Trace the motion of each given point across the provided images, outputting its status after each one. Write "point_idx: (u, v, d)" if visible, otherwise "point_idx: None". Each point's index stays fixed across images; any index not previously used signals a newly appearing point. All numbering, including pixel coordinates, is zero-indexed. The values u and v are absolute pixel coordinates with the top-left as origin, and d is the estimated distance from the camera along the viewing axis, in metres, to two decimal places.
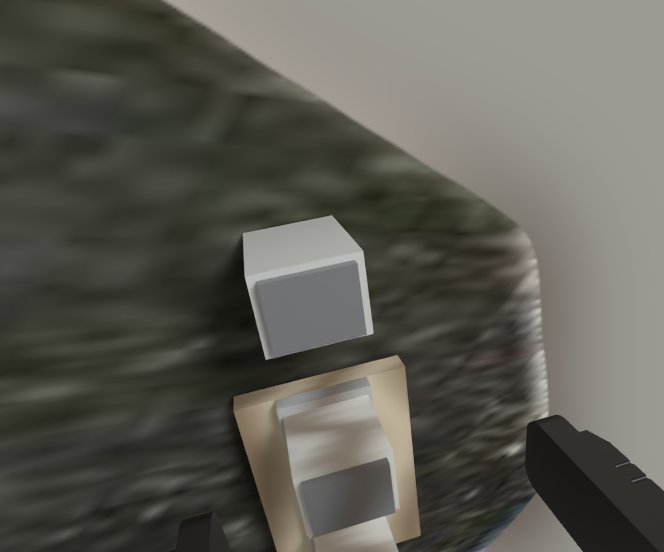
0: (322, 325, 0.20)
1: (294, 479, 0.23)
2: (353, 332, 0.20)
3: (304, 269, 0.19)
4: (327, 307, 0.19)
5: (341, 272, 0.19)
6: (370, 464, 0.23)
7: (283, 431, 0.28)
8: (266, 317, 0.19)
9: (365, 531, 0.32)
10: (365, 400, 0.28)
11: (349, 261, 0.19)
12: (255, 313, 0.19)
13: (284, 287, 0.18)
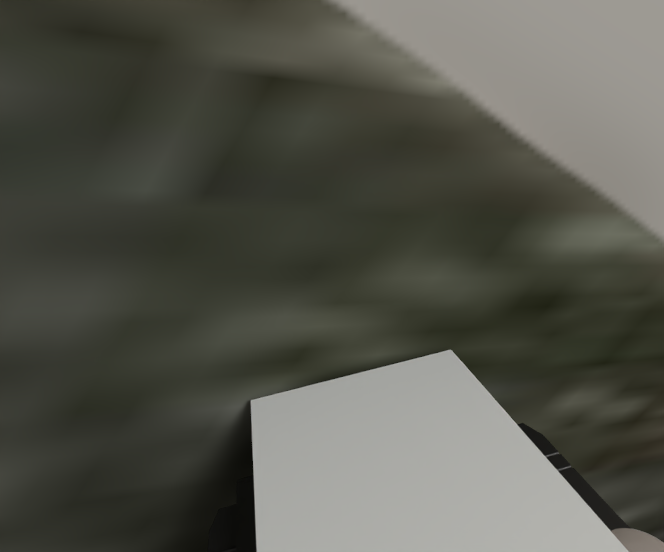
0: None
1: None
2: None
3: None
4: None
5: None
6: None
7: None
8: None
9: None
10: None
11: None
12: None
13: None
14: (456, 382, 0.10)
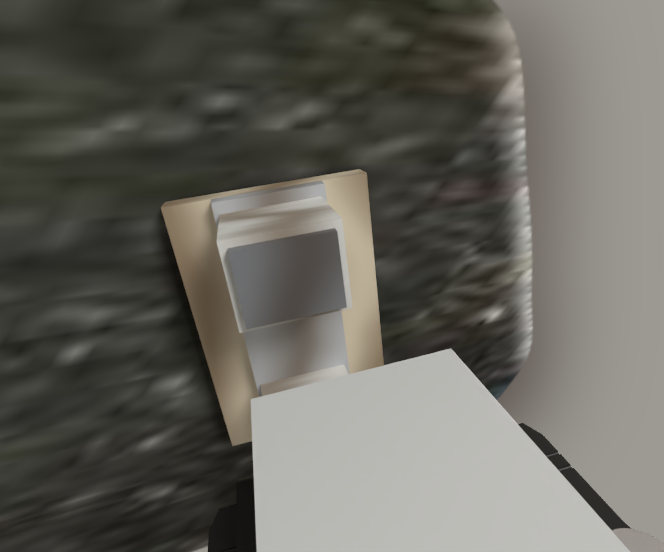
0: None
1: (219, 243, 0.19)
2: None
3: None
4: None
5: None
6: (314, 232, 0.19)
7: None
8: None
9: (321, 378, 0.28)
10: (317, 199, 0.23)
11: None
12: None
13: None
14: (456, 381, 0.10)
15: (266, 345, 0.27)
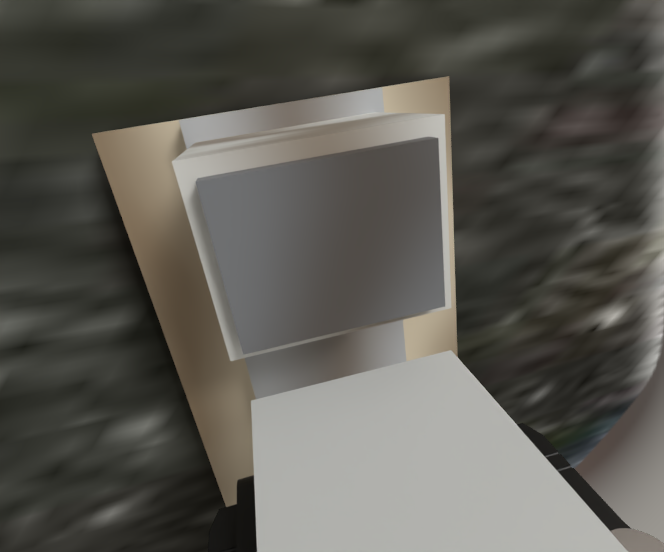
0: None
1: (178, 165, 0.08)
2: None
3: None
4: None
5: None
6: (386, 144, 0.09)
7: None
8: None
9: None
10: (371, 113, 0.13)
11: None
12: None
13: None
14: (456, 383, 0.10)
15: (281, 371, 0.16)
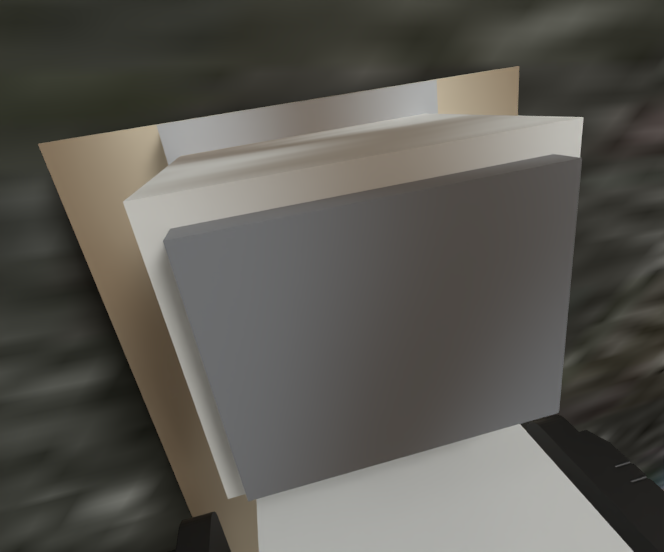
0: None
1: (136, 208, 0.05)
2: None
3: None
4: None
5: None
6: (491, 168, 0.05)
7: None
8: None
9: None
10: (422, 115, 0.09)
11: None
12: None
13: None
14: None
15: None
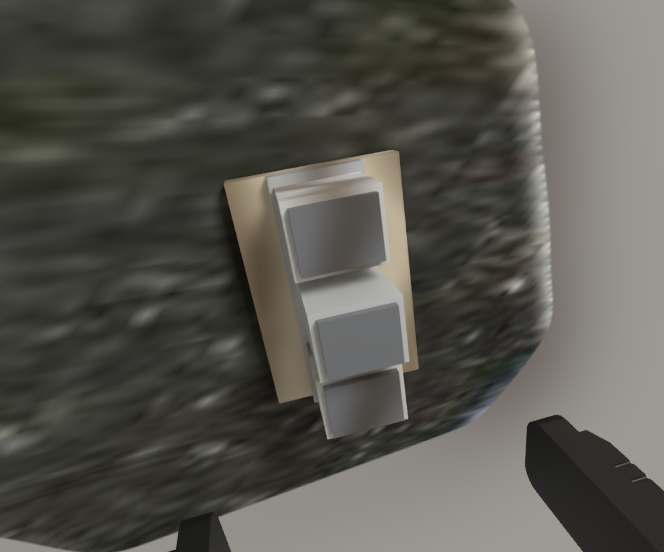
0: (368, 355, 0.24)
1: (280, 203, 0.22)
2: (393, 361, 0.24)
3: (354, 310, 0.23)
4: (373, 340, 0.23)
5: (385, 312, 0.23)
6: (359, 194, 0.23)
7: (274, 206, 0.27)
8: (323, 349, 0.23)
9: None
10: (357, 173, 0.27)
11: (391, 303, 0.23)
12: (314, 345, 0.23)
13: (339, 325, 0.23)
14: None
15: None
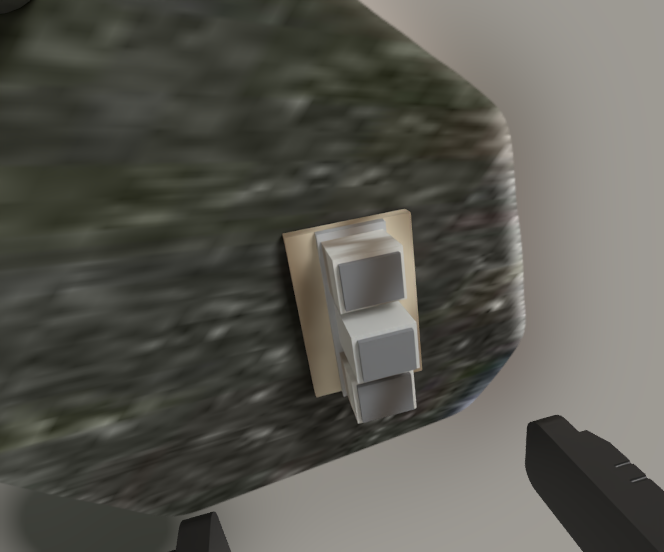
0: (392, 364, 0.34)
1: (333, 261, 0.32)
2: (409, 367, 0.35)
3: (383, 333, 0.33)
4: (395, 354, 0.34)
5: (404, 335, 0.33)
6: (387, 254, 0.33)
7: (320, 254, 0.37)
8: (362, 360, 0.33)
9: None
10: (381, 231, 0.37)
11: (408, 328, 0.34)
12: (354, 357, 0.34)
13: (373, 344, 0.33)
14: None
15: None
